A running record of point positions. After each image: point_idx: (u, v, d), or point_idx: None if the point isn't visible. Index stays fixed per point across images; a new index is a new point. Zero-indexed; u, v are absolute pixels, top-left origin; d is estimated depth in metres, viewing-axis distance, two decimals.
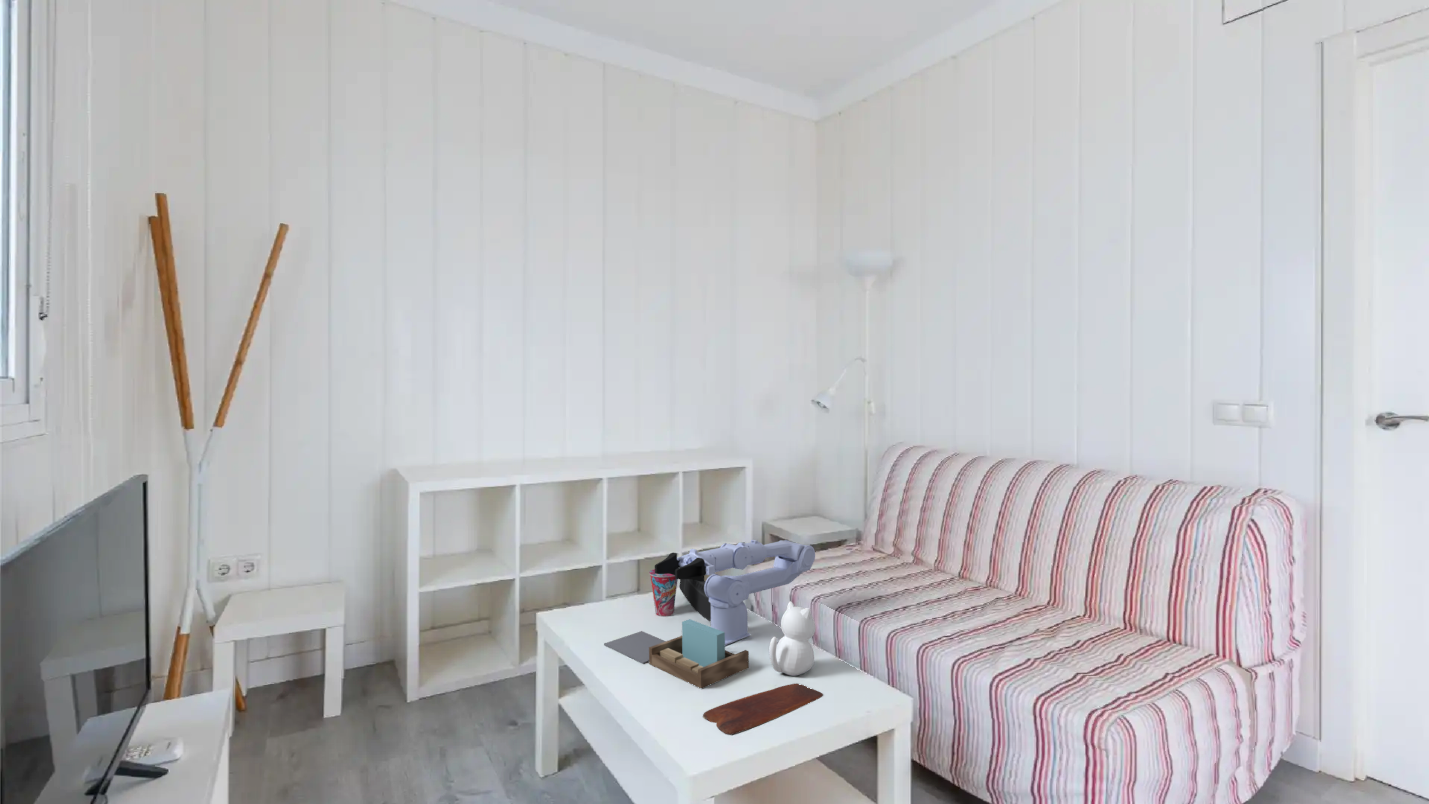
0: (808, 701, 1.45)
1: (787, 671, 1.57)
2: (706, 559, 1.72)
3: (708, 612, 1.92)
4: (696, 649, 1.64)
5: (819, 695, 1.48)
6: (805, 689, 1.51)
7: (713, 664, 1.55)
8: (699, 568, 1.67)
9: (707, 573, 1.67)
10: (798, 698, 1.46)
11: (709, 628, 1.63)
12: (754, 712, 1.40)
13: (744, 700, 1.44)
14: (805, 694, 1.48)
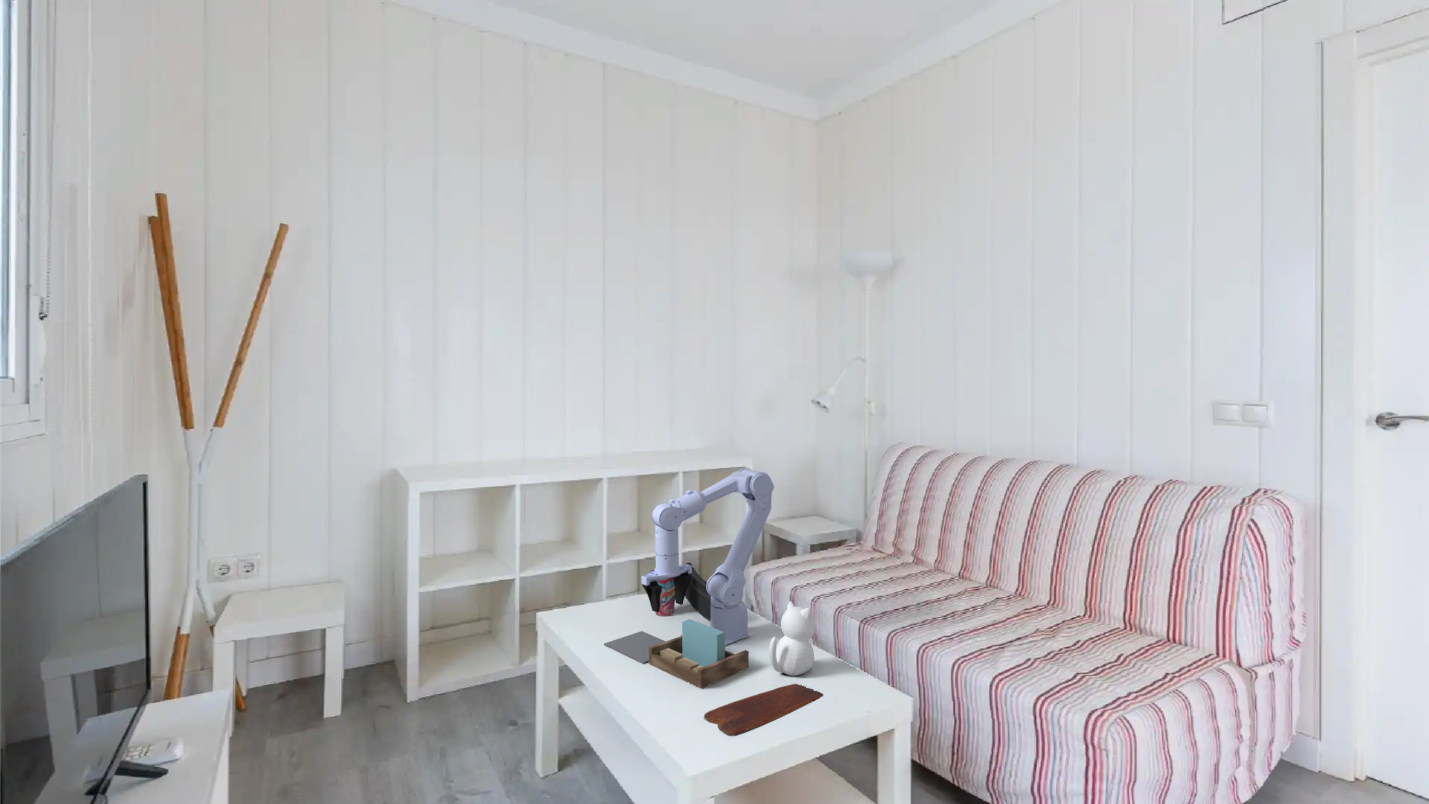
0: (808, 701, 1.45)
1: (787, 671, 1.57)
2: None
3: (708, 612, 1.92)
4: (696, 649, 1.64)
5: (819, 696, 1.48)
6: (805, 689, 1.51)
7: (713, 664, 1.55)
8: None
9: None
10: (798, 698, 1.46)
11: (710, 628, 1.63)
12: (756, 713, 1.40)
13: (745, 701, 1.44)
14: (805, 694, 1.48)
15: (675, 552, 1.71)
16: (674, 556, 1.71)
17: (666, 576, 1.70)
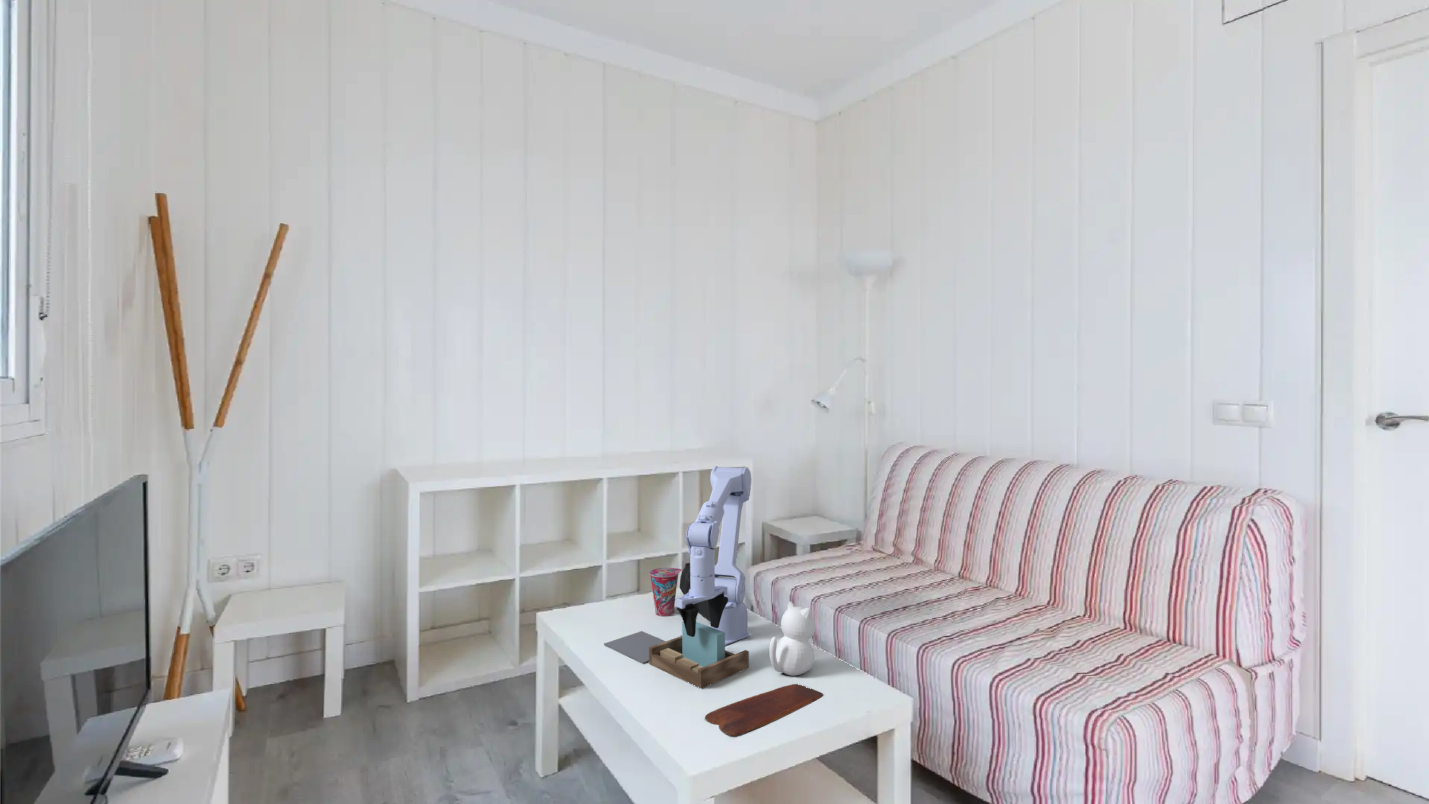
0: (809, 701, 1.45)
1: (787, 671, 1.57)
2: (690, 585, 1.63)
3: (708, 612, 1.92)
4: (696, 649, 1.64)
5: (819, 695, 1.48)
6: (805, 689, 1.51)
7: (713, 664, 1.55)
8: None
9: None
10: (799, 698, 1.46)
11: (710, 628, 1.63)
12: (756, 713, 1.39)
13: (745, 702, 1.44)
14: (805, 694, 1.48)
15: None
16: (710, 577, 1.62)
17: (702, 599, 1.60)
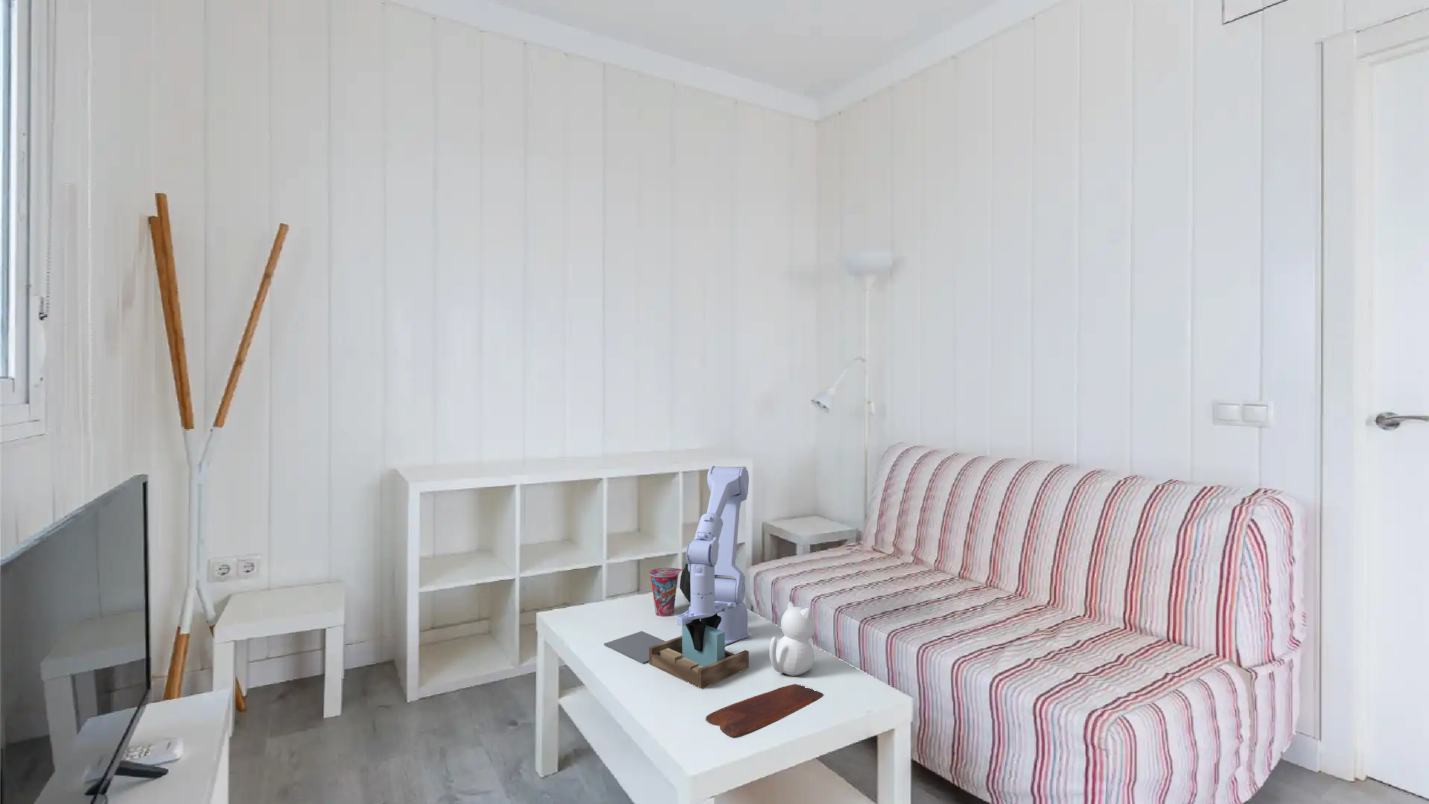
0: (809, 701, 1.45)
1: (787, 671, 1.57)
2: None
3: None
4: None
5: (819, 696, 1.48)
6: (805, 689, 1.50)
7: (713, 664, 1.55)
8: None
9: None
10: (799, 699, 1.46)
11: (709, 628, 1.63)
12: (757, 714, 1.39)
13: (746, 703, 1.43)
14: (805, 694, 1.48)
15: None
16: (711, 595, 1.62)
17: (702, 616, 1.61)
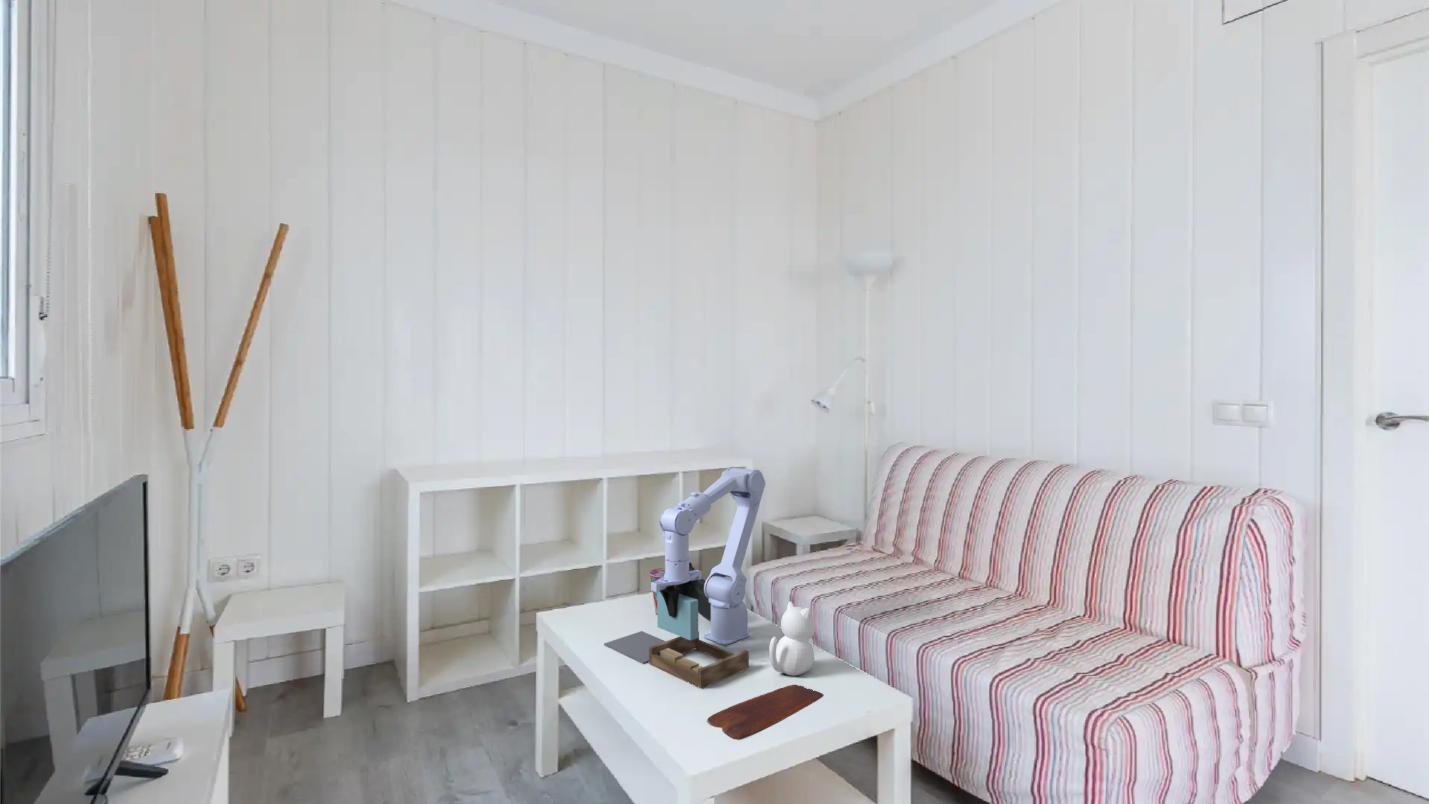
0: (810, 702, 1.45)
1: (787, 671, 1.57)
2: (665, 570, 1.67)
3: (708, 612, 1.92)
4: (670, 617, 1.68)
5: (820, 696, 1.48)
6: (805, 690, 1.50)
7: (713, 664, 1.55)
8: None
9: None
10: (800, 699, 1.46)
11: (683, 596, 1.67)
12: (759, 715, 1.39)
13: (747, 704, 1.43)
14: (806, 695, 1.48)
15: (687, 557, 1.67)
16: (684, 562, 1.66)
17: (676, 583, 1.64)
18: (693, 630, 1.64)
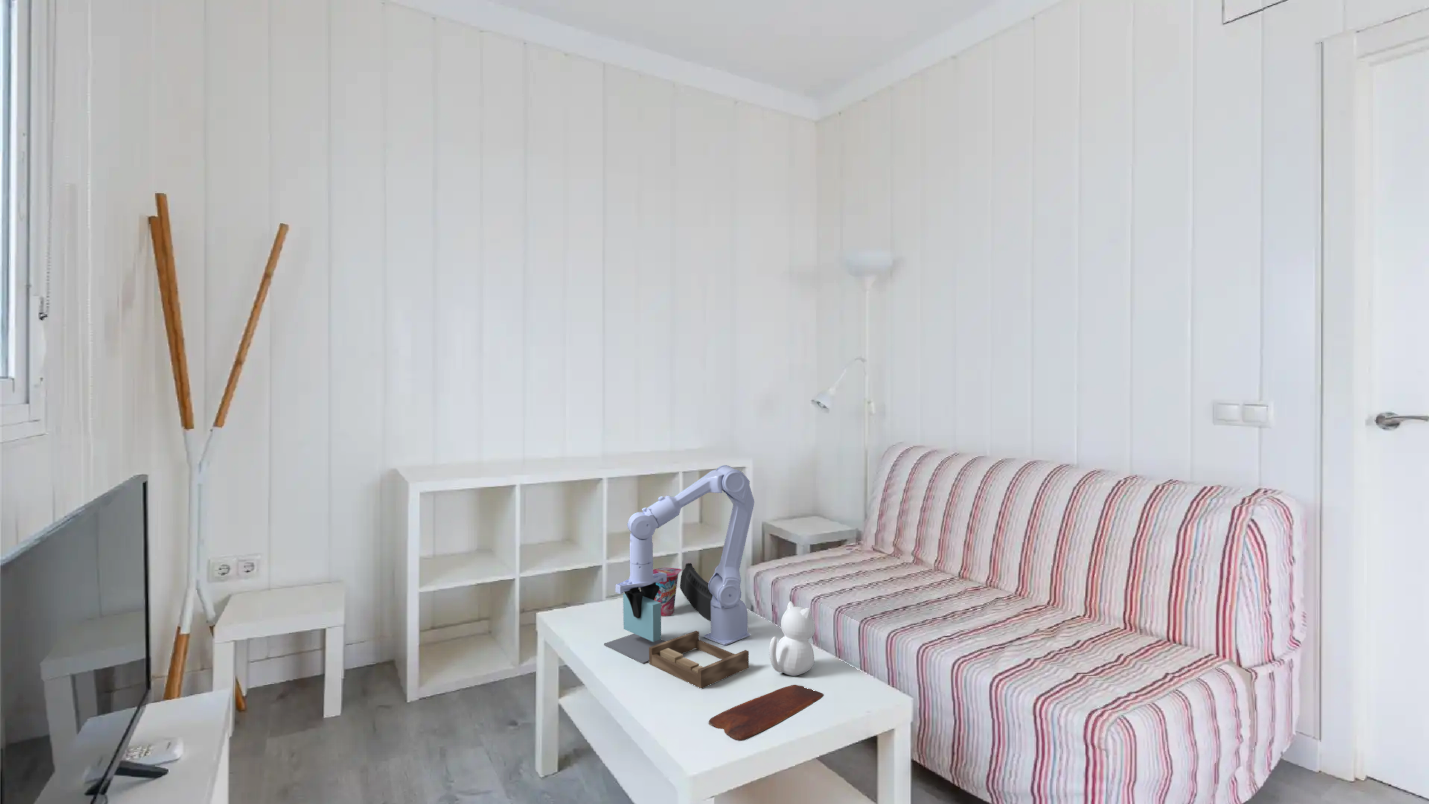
0: (810, 702, 1.45)
1: (787, 671, 1.57)
2: (630, 572, 1.73)
3: (709, 613, 1.92)
4: (635, 619, 1.74)
5: (820, 696, 1.48)
6: (805, 690, 1.50)
7: (713, 664, 1.55)
8: None
9: None
10: (800, 699, 1.46)
11: (647, 599, 1.73)
12: (760, 716, 1.38)
13: (748, 705, 1.43)
14: (806, 695, 1.48)
15: (648, 561, 1.72)
16: (648, 564, 1.72)
17: (640, 585, 1.71)
18: (656, 632, 1.70)
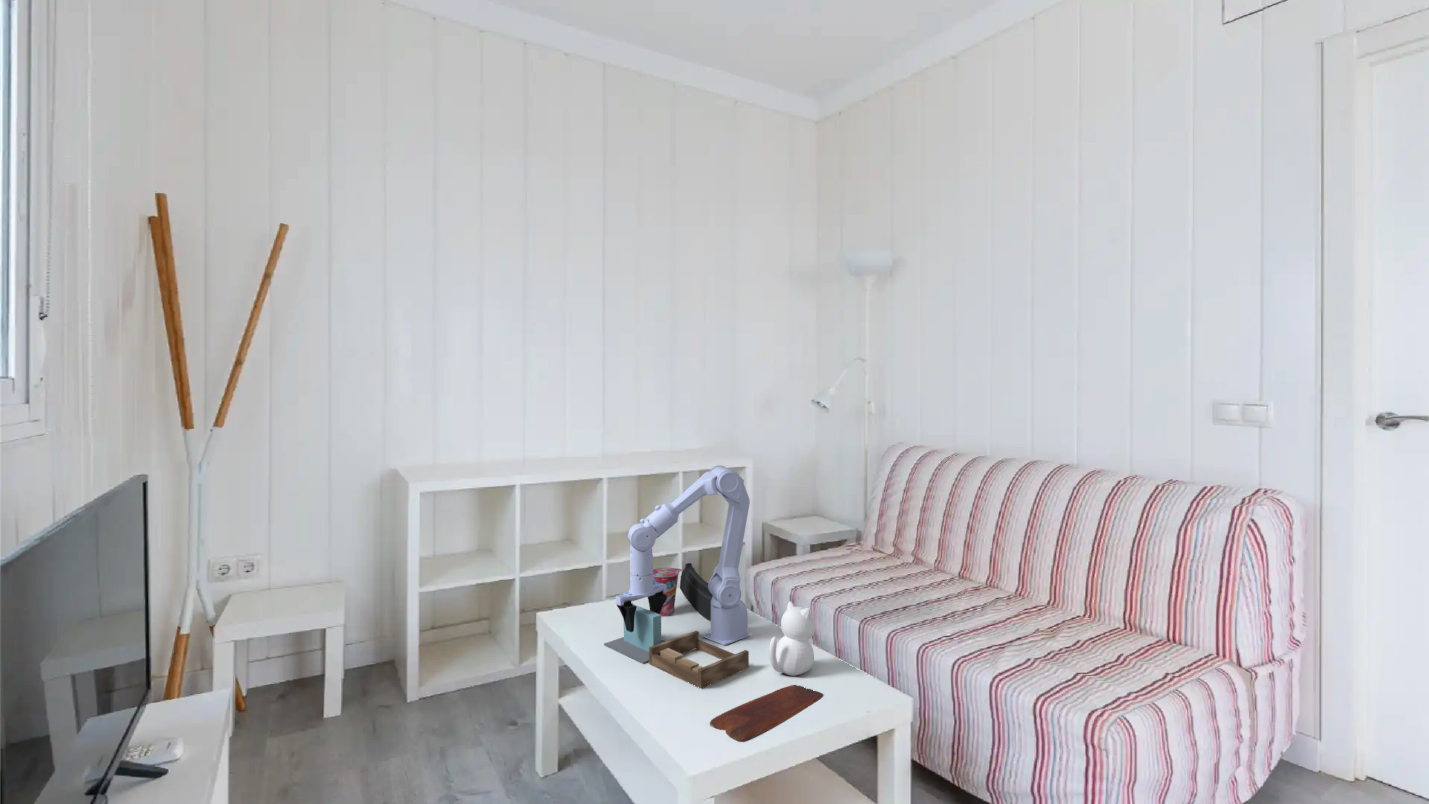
0: (811, 702, 1.45)
1: (787, 671, 1.57)
2: (630, 584, 1.73)
3: (708, 613, 1.92)
4: (635, 631, 1.75)
5: (820, 696, 1.48)
6: (805, 690, 1.50)
7: (713, 664, 1.55)
8: None
9: None
10: (801, 700, 1.45)
11: (648, 611, 1.74)
12: (762, 717, 1.38)
13: (749, 705, 1.42)
14: (806, 695, 1.48)
15: (648, 572, 1.72)
16: (648, 576, 1.72)
17: (640, 596, 1.71)
18: (656, 644, 1.70)
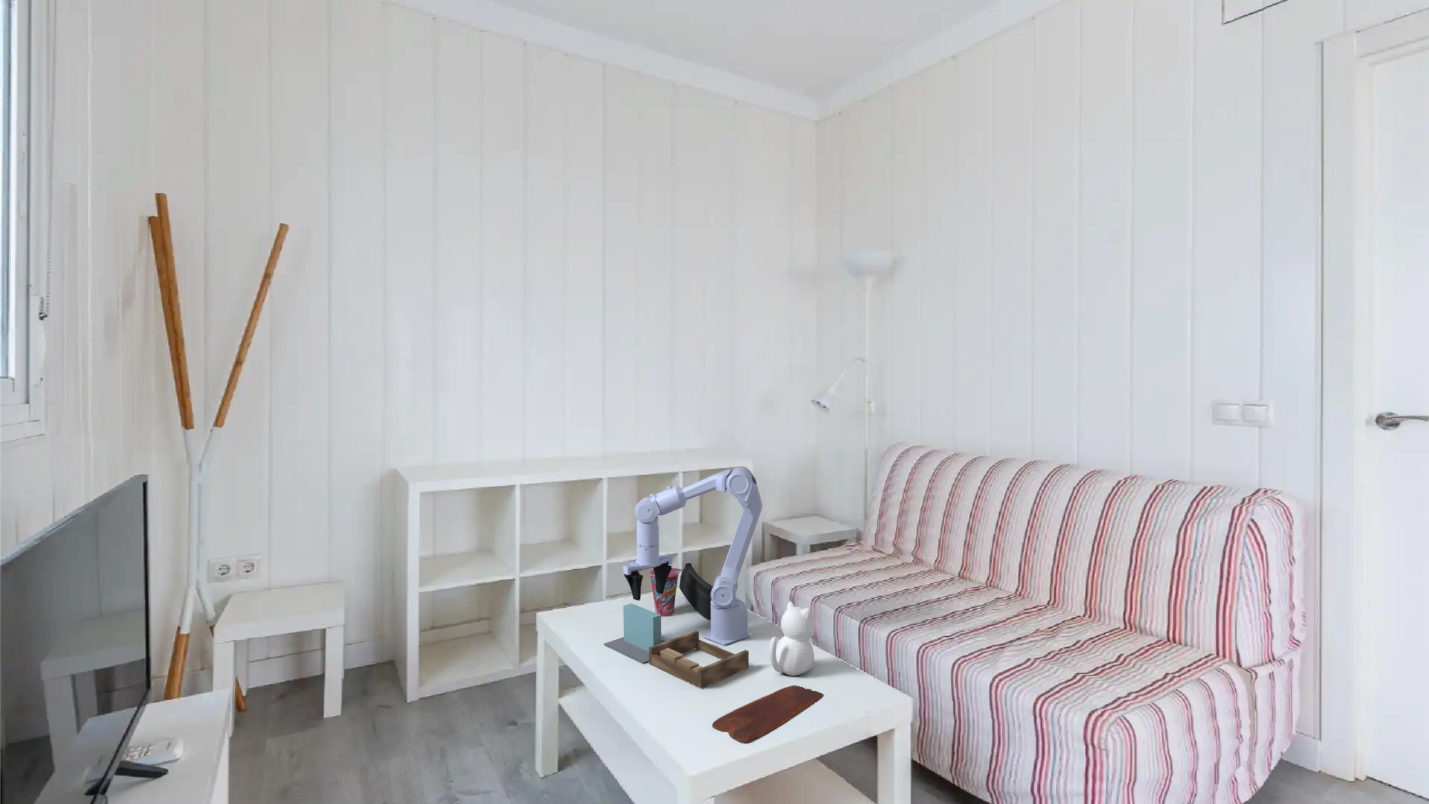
0: (812, 702, 1.45)
1: (787, 671, 1.57)
2: None
3: (708, 613, 1.92)
4: (635, 631, 1.75)
5: (820, 696, 1.48)
6: (805, 690, 1.50)
7: (713, 664, 1.55)
8: None
9: None
10: (801, 700, 1.45)
11: (648, 611, 1.74)
12: (764, 718, 1.38)
13: (750, 707, 1.42)
14: (807, 695, 1.47)
15: (650, 544, 1.79)
16: (654, 547, 1.79)
17: (646, 566, 1.78)
18: (656, 644, 1.70)
